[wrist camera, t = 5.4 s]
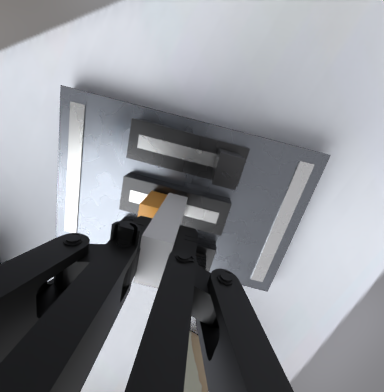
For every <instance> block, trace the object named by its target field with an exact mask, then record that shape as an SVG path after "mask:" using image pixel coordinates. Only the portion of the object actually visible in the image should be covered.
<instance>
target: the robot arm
mask: <svg viewBox="0 0 384 392" xmlns="http://www.w3.org/2000/svg"><path fill="white" fill-rule="evenodd" d="M187 199H188V197H184V196H180V195H176V194H172V193H168V195H167V197H166V198H165V200H164V201H163V203H162V204H161V206H160V208H159V209H158V211H157V212H156V214H155V216H154V217H153V218H149V217H145V216H139V217H136V218H135V219H134V220H133V221H132V222H131V221H118V222H115V223H113V224H112V226H111V235H110V240H109V241H108V242H107V244H90V239H89V237H88V236H86V235H84V234H81V233H68V234H64V235H62V236H59V237H57V238H55V239H53V240H51V241H49V242H47V243H45V244H42V245H40V246H38V247H36V248H34V249H32V250H30V251H28V252H26V253H23V254H21V255H19V256H17V257H15V258H13V259H11V260H9V261H7V262H4V263H2V264H0V392H80V391H81V389H82V387H83V385H84V383H85V381H86V379H87V377H88V375H89V373H90V371H91V369H92V367H93V365H94V363H95V361H96V358H97V356H98V354H99V352H100V350H101V348H102V346H103V344H104V342H105V340H106V338H107V336H108V334H109V332H110V330H111V328H112V326H113V324H114V322H115V320H116V318H117V316H118V313H119V311H120V309H121V307H122V305H123V303H124V301H125V299H126V297H127V295H128V293H129V291H130V287H131V282H132V280H133V278H134V283H138V284H142V285H146V286H150V287H154V288H158V291H157V294H156V297H155V300H154V303H153V306H152V309H151V312H150V315H149V318H148V321H147V324H146V328H145V331H144V334H143V337H142V340H141V343H140V346H139V349H138V352H137V355H136V358H135V361H134V365H133V368H132V371H131V374H130V377H129V380H128V383H127V386H126V389H125V392H184V382H185V373H186V363H187V353H188V343H189V333H190V323H191V316H193V317H194V318H196V325H197V331H198V336H199V342H200V347H201V353H202V358H203V364H204V370H205V375H206V381H207V386H208V392H294V391H293V389H292V387H291V385H290V383H289V381H288V379H287V377H286V375H285V373H284V371H283V369H282V367H281V365H280V363H279V361H278V358H277V356H276V354H275V352H274V350H273V348H272V346H271V344H270V342H269V340H268V338H267V336H266V334H265V332H264V330H263V328H262V326H261V324H260V322H259V320H258V318H257V315H256V313H255V311H254V309H253V307H252V305H251V303H250V301H249V299H248V297H247V295H246V293H245V291H244V289H243V287H242V285H241V283H240V281H239V279H238V278H237V276H236V275H234V274H233V273H232V272H230V271H228V270H226V269H221V268H220V269H215V270H213V271H212V272H211V273H210V272H208V271H206V270H205V269H203V268H202V267H200V266H199V265H198V263H197V260H196V248H197V239H198V232H197V231H196V229H194V228H191V227H187V226H183V225H181V224H182V220H183V216H184V211H185V207H186V203H187ZM134 276H135V277H134ZM52 277H54V279H52V280H51V281H49V282H47V280H49V279H51V278H52Z"/></svg>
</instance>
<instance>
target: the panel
mask: <svg viewBox="0 0 384 392" xmlns="http://www.w3.org/2000/svg"><path fill="white" fill-rule="evenodd" d="M329 157H330V155H328V154H324V153H320V152H316V151H313V150H309V149H305V148H301V147H297V146H293V145H289V144H286V143H282V142H278V141H274V140H270V139H266V138H263V137H259V136H255V135H251V134H247V133H243V132H239V131H236V130H232V129H228V128H224V127H220V126H216V125H212V124H209V123H205V122H201V121H197V120H193V119H189V118H185V117H182V116H178V115H174V114H170V113H166V112H162V111H159V110H155V109H151V108H147V107H143V106H139V105H135V104H132V103H128V102H124V101H120V100H116V99H112V98H108V97H105V96H101V95H97V94H93V93H89V92H85V91H81V90H78V89H74V88H70V87H66V86H62V85H61V91H60V123H59V154H58V186H57V218H56V237H59V236H62V235H64V234H68V233H81V234H84V235H86V236H88V237H89V239H90V244H107V242H108V241H109V240H110V235H111V226H112V224H113V223H115V222H118V221H131V222H132V221H133V220H134V219H135V218H136V217H137V216H138V211H139V205H140V203H141V202H142V201H143V200H144V198H145V197H146V196H147V195H148V194H149V193H150V192H151V191H155V192H159V193H163V194H167V195H168V193H172V194H176V195H180V196H184V197H188V199H187V203H186V207H185V211H184V216H183V220H182V224H181V225H183V226H187V227H191V228H194V229H196V231H197V232H198V239H197V248H196V260H197V263H198V265H199V266H200V267H202V268H203V269H205V270H206V271H208V272H210V273H211V272H212V271H213V270H215V269H220V268H221V269H226V270H228V271H230V272H232V273H233V274H234V275H236V276H237V278H238V279H239V281H240V283H241V285H244V286H248V287H251V288H255V289H259V290H263V291H267V292H268V289H269V287H270V285H271V283H272V281H273V279H274V277H275V274H276V272H277V270H278V268H279V266H280V264H281V261H282V259H283V257H284V255H285V253H286V251H287V248H288V246H289V244H290V242H291V240H292V238H293V235H294V233H295V231H296V229H297V227H298V225H299V222H300V220H301V218H302V216H303V214H304V212H305V209H306V207H307V205H308V203H309V201H310V199H311V196H312V194H313V192H314V190H315V188H316V186H317V183H318V181H319V179H320V177H321V175H322V173H323V170H324V168H325V166H326V164H327V162H328V160H329Z"/></svg>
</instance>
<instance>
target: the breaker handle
mask: <svg viewBox="0 0 384 392" xmlns="http://www.w3.org/2000/svg"><path fill="white" fill-rule="evenodd" d="M166 197H167V194H163V193H159V192H155V191H151V192H150V193H149V194H148V195H147V196H146V197H145V198H144V200H143V201H142V202H141V203H140V205H139V211H138V216H137V217H139V216H145V217H149V218H153V217H154V216H155V214H156V212H157V211H158V209H159V208H160V206H161V204H162V203H163V201H164V200H165V198H166Z"/></svg>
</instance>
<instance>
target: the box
mask: <svg viewBox="0 0 384 392" xmlns="http://www.w3.org/2000/svg"><path fill="white" fill-rule="evenodd" d="M184 392H208V386H207V381H206V375H205V370H204V364H203V358H202V353H201V347H200V342H199V336H198V335H197V334H195V333H193V332H191V331H190V333H189V343H188V353H187V363H186V373H185V382H184Z"/></svg>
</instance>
